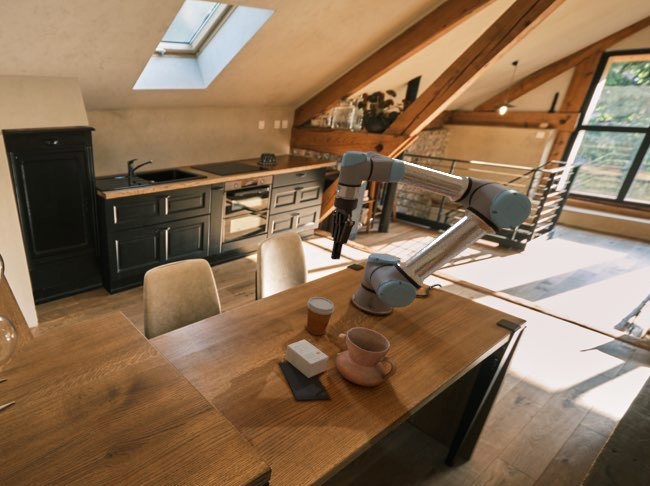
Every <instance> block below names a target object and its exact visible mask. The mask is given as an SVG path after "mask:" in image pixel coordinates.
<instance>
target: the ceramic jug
mask: <svg viewBox="0 0 650 486" xmlns="http://www.w3.org/2000/svg"><path fill="white" fill-rule="evenodd" d="M338 338H339V339H341V340H343V341H344V342H345V344H346V347H347V350H343V351H341V352H338V353H336V358H335V367H336V369H337V371H338V372H339V374H340V375H341V376H342V378H344V379H345V380H347V381H349V382H351V383H352V384H354V385H358V386H362V387H377V386H380V385H381V384H383V383H385V382H386V381H387V380H388V379H389V378H391V377H393V376H394V375H395V374H396V373H397V370H398V366H397V362H396V361H395V360H394V359H393V358H391V357H388V356H386V355H387V354H388V352H389V351H390V348H391V343H390V340H389V339H388V338H386V336H385V335H383V334H382V333H381V332H378V331H377V330H374V329H372V328H371V329H370V328H367V327H360V326H356V327H352V328H350V329H348V330H347V331H346V334H345V333H340V334H339V335H338ZM383 363H388V364H389V365H390V368H391V369H390V370H389V371H388V372H386V369H385V366H384V365H383Z"/></svg>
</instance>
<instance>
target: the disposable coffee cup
mask: <svg viewBox="0 0 650 486" xmlns="http://www.w3.org/2000/svg"><path fill="white" fill-rule="evenodd" d="M306 302H307V303H306V305H307V316H306V317H307V318H306V330H307V332H309V333H310V334H312V335H315V336H323V335H324V334H325V332H326V330H327V327H328V324H329V321H330V319H331V317H332V315H333V313H334V311H335V305H334V303H333V302H332V301H331V300H330V299H328V298H325V297H321V296H312V297H311V298H309V300H308V301H306Z"/></svg>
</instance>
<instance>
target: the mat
mask: <svg viewBox="0 0 650 486" xmlns="http://www.w3.org/2000/svg"><path fill="white" fill-rule="evenodd" d="M278 364H279V366H280V368H281V370H282V372H283V374H284V376H285V379H286V381H287V383H288V385H289V388H290V389H291V391H292V393H293V395H294V397H295V400H296V401H319V400H320V401H321V400H331V398H330V396H329V394H328V392H327V390H326V389H325V387H324V386H323V384H322V382H321V380H320V379H319V377H318V374H317V375H314V376H312V377H310V378H308V377H307V376H305V375H304V374H303V373H302V372H300V371H299V370H298V369H297V368H296V367H294V366H293V365H292V364H291V363H290V362H288V361H287V362H279V363H278Z"/></svg>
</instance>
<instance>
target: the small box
mask: <svg viewBox="0 0 650 486" xmlns="http://www.w3.org/2000/svg"><path fill="white" fill-rule="evenodd" d="M329 359H330V358H329V356H328V355H327V354H326V353H324V352H323V351H322V350H320V349H319V348H317V347H316V346H315V345H313V344H312V343H311V342H309V341H307V340H306V339H301V340H299V341H295V342H293V343H291V344H288V345H287V347H286V353H285V360H286V361H287V362H290V363H291V364H292V365H293V366H294V367H296V368H297V369H298V370H299V371H300V372H302V373H303V374H304V375H305V376H307V377H308V378H310V377H312V376H314V375H317V376H318V374H322V373H323V372H326V370H327V366H328V362H329Z"/></svg>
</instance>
